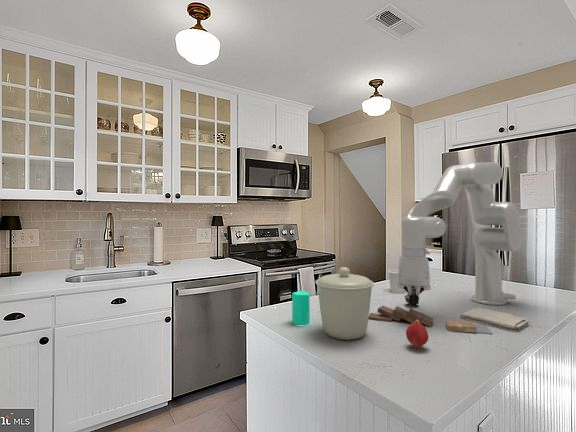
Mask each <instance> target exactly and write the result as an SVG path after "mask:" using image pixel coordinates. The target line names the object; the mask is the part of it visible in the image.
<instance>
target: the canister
mask: <svg viewBox="0 0 576 432" xmlns="http://www.w3.org/2000/svg"><path fill="white" fill-rule="evenodd" d="M337 272H338V273H334V274H333V273H331V274H326V275H322V276H321V277H320V278H318V279H316V280H315V284H316V286H317V294H318V300H319V302H318V303H319V309H320V316H321V323H322V324H321V325H322V328H323V331H324V332H325V333H326V334H327V336H329V337H331V338H333V339H337V340H343V341H344V340H346V341H347V340H348V341H349V340H350V341H351V340H358V339H361V338H362V337H363V336H365V334H366V333H367V329H368V324H369V320H368V317H369V315H370V308H371V307H370V306H371V297H372V289H373V288H372V287H374V285H375V283H374V281H373V280H370V279H369V278H368V277H366V276H363V275H360V274H353V273H351V270H350V268H348V267H346V266H342V267H340V268H339V269H338V271H337Z"/></svg>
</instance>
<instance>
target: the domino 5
mask: <svg viewBox="0 0 576 432" xmlns="http://www.w3.org/2000/svg"><path fill="white" fill-rule="evenodd" d="M474 324H475V322H473V321H459V320H457V321H456V320H446V321H445V326H446V329H447V331H448V332H463V333H464V332H465V333H474V332H477V330H476V326H475V325H474Z"/></svg>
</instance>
